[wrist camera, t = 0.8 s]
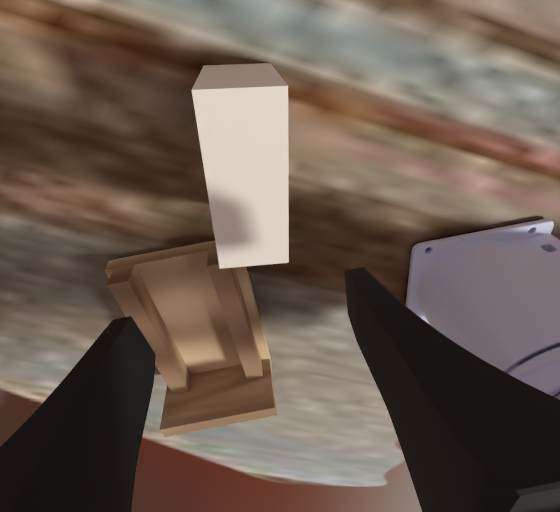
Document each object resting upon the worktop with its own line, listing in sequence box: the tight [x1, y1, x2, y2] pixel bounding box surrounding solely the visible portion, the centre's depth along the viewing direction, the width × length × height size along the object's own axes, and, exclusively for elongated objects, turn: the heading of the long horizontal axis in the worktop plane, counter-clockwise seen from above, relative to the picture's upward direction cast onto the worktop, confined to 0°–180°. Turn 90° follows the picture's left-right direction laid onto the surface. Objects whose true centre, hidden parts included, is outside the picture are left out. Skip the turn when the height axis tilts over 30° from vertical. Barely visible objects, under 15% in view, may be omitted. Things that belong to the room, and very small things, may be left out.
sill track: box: [104, 240, 277, 437], centre depth 22 cm, size 12×8×5 cm, turn 8°
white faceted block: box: [192, 63, 289, 269], centre depth 15 cm, size 3×7×6 cm, turn 1°
